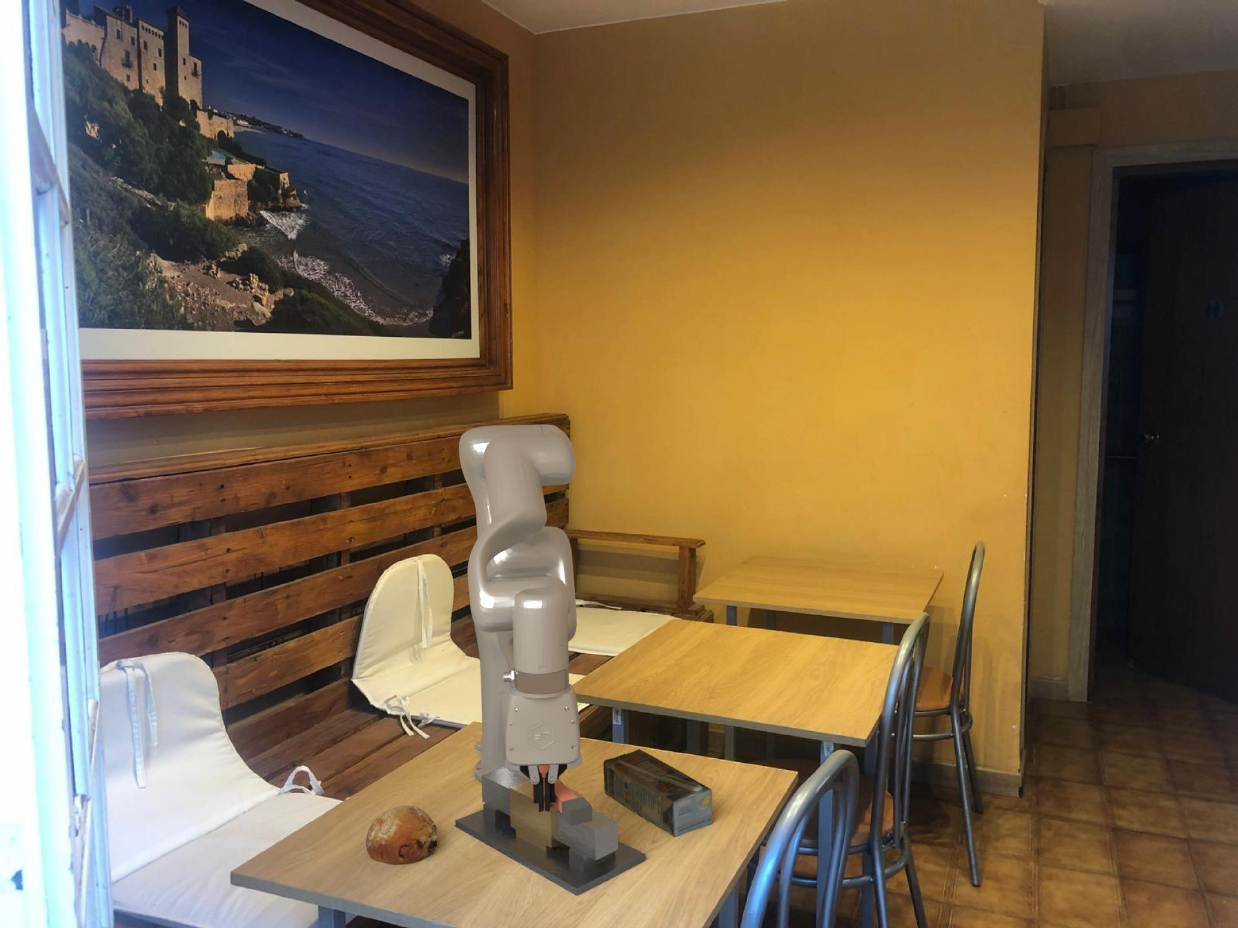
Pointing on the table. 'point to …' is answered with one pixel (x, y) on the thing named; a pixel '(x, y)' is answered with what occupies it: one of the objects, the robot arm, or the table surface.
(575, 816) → the lever
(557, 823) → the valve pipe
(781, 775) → the table surface
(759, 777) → the table surface
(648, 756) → the beverage carton
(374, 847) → the bread roll
